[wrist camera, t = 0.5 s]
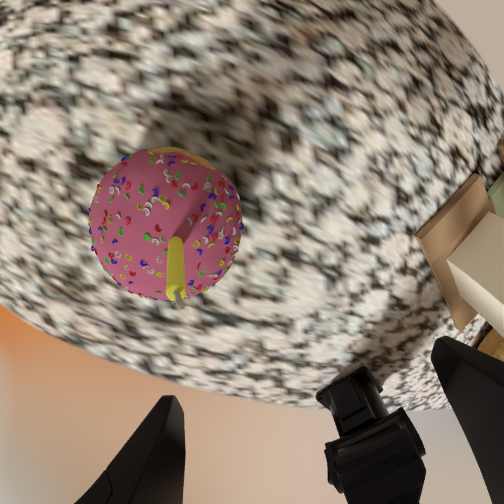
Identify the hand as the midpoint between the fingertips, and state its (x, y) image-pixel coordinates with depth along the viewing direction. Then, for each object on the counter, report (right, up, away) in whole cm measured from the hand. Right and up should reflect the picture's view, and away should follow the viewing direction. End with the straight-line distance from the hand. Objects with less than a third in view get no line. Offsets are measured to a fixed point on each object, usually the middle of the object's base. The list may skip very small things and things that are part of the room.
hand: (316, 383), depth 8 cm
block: (+20, +4, +14) cm, 25 cm away
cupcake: (-7, +7, +11) cm, 15 cm away
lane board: (+23, +5, +14) cm, 27 cm away
